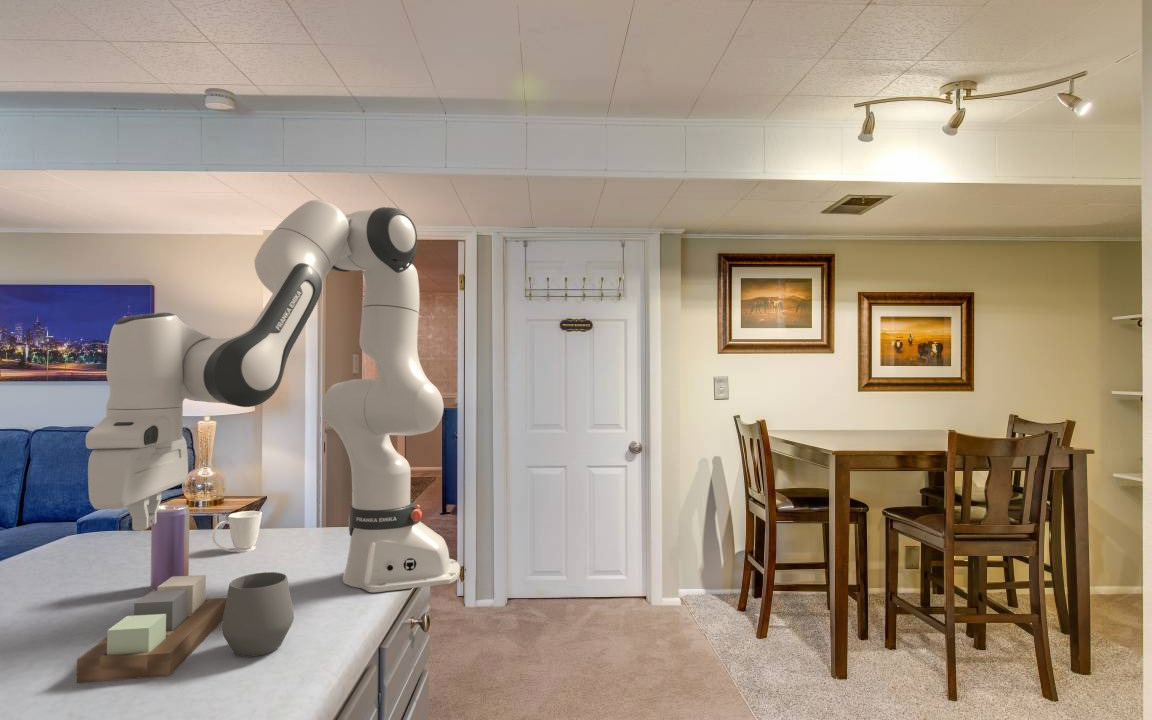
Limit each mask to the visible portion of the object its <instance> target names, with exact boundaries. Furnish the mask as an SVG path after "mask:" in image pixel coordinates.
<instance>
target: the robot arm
mask: <svg viewBox="0 0 1152 720" xmlns="http://www.w3.org/2000/svg"><path fill="white" fill-rule="evenodd" d="M416 228H417V227H416V226H415V223H414V222H413V220H412V218H411V216H409V214H408V213H407V212H405V211H404V210H403V209H399V208H396V207H389V206H388V207H384V206H383V207H381V206H380V207H379V208H375V209H365V210H364V209H363V210H357V211H353V212H352V213H349V214H344V212H343V211H342V210H341V209H340V208H339V207H338V206H336V205H334V204H333V203H331V202H328V201H326V200H322V199H312V200H309V201H307V202H305V203H303V204H301V205H300V206H299V207H297V208H296V209H295V210H293V211H292V212H291V213H290V214H289V215H287V217H285V218H284V220H282V221H281V222H280V223H279V224H278V225H277V226H276V228H275V229H274V230H273V231H271V233H270V234H269V235H268V237H267V238H266V239H265V240H264V241H263V242H262V244H261V246H260V247H259V250H258V251H257V253H256V256H255V257H254V268H255V272H256V275H257V277H258V279H259V280H260V282H261V284H262V285H263V286H264V287H265V288H266V289H267V290H268V291H269V292H271V293H272V294H271V296H270V297H269V299H268V301H267V303H266V304H265V306H264V307H263V309H262V311H261V312H260V314H259V315H258V317H257V318H256V320H255V322H253V323H254V324H253V325H252V326H251V327H250V328H249V329H248V330H246V331H244V332H243V333H241V334H238V335H236V336H232V337H225V338H224V337H223V338H213V337H211V336H210V335H206V334H205V333H201V332H199V331H197V330H195V329H194V328H192V327H190V326H189V325H187V324H186V323H185V322H183V321H182V320H181V319H180V318H179V317H178V316H177V314H174V313H171V312H154V313H144V314H135V315H127V316H123V317H122V318H119V319H118V320H117V321H115V322H114V324H113V326H112V327H111V331H110V335H109V339H108V345H107V347H108V348H107V356H106V357H107V358H106V379H107V382H108V384H109V398H108V400H107V403H106V407H105V408H106V409H105V417H104V418H103V419H102V420H101V421H100V422H99V423H98V424H97V425H96V426H94V427H93V428H91V429H90V430H89V431H88V432H87V433H86V435H85V447H86V449H89V450H92V451H91V453H90V455H89V457H88V464H87V479H88V480H87V482H88V483H87V485H88V486H87V487H88V500H89V502H90V504H91V506H92V507H93V508H94V510H119V509H120V510H121V509H124V508H127V511H128V513H129V515H130V517H131V525H132V526H131V529H132V530H133V531H134V532H137V531H138V532H139V531H142V532H143V531H145V530H148V529H149V528H152V526H153V525H155V524H156V515H157V511H158V508H159V506H161V505H160V504H161V503H162V502H161V501H162V492H165V491H167V490H169V489H171V488H175V487H177V486H179V485H181V484H184V483H186V481H187V479H188V475H189V458H188V446H187V445H188V444H187V440H186V438H185V437H184V435H183V429H184V428H183V427H184V426H183V423H184V422H183V418H184V417H183V416H184V415H183V412H184V411H183V406H184V405H183V404H184V400H186V399H187V400H189V401H195V402H204V403H205V402H206V403H213V404H214V403H215V404H216V403H218V404H226V405H232V406H237V407H242V408H250V407H252V408H253V407H256V406H258V405H261V404H264V403H265V402H266V401H268V400H269V399H271V397H272V396H273V395H274V394H275V393H276V392H277V390H278V389H279V387H280V385H281V382H282V379H283V377H284V374H285V373H284V372H285V368H286V364H287V361H288V358H289V356H290V353H291V351H292V349H293V347H294V345H295V344H296V342H297V340H298V338H299V336H300V335H301V333H302V331H303V330H304V327H305V325H306V324H307V322H308V320H309V318H310V317H311V314H312V313H313V311H314V310H315V307H316V305H317V303H318V302H319V300H320V296H321V293H322V290H323V281H324V280H325V278H326V277H327V275H328V274H329V273H330V271H331V270H333V271H336V272H345V273H346V272H350V271H362V275H363V276H364V277H363V278H364V280H365V289H364V296H363V299H362V300H363V302H362V311H361V320H360V331H359V347H360V349H361V351H362V352H363V353H364V354H365V355H366V356H368V357H369V358H370V359H372V360H373V361H374V363H375V366H376V368H377V377H378V378H377V379H375V378H374V379H373V378H371V379H370V378H365V379H363V378H354V379H349V380H346V381H341V382H338V383H334V384H332V385H331V386H330V387H329V388H328V389H327V391H326V392H325V394H324V396H323V400H322V405H321V408H322V410H321V411H322V415H323V418H324V420H325V422H326V423H327V424H328V426H330V428H331V429H333V430H334V432H336V433H337V436H338V437H339V438H340V439H341V442H342V443H343V446H344V448H345V451H346V453H347V456H348V460H349V463H350V464H349V465H350V471H351V498H352V499H351V506H350V507H349V512H348V531H349V536H350V539H349V548H348V554H347V559H346V564H345V568H344V572H343V576H342V578H341V580H342V582H343V583H344V584H346V585H347V586H349V587H353V588H359V589H363V590H364V591H366V592H368V593H381V592H389V591H399V590H408V589H414V588H423V587H434V586H439V585H449V584H452V583H454V582H455V581H456V580H457V579H459V578H460V575H461V569H460V568H461V566H460V564H459V562H458V561H457V560H455V559H453V558H450V552H449V548H448V545H447V543H446V540H445V539H444V538H443V536H441V535H440V534H438V533H437V532H435V530H432V529H431V528H430V527H428V526H427V525H426V524H424V523H423V522H421V520H422V519H421V518H422V515H423V512H422V510H421V506H420V505H419V504H415V503H413V502H411V482H412V481H411V478H412V477H411V475H412V474H411V473H412V472H411V470H412V469H411V465H410V464H409V461H408V459H406V458H405V457H404V456H403V455H401V454H400V453H399V452H397V450H396V449H395V448H394V446H393V444H392V440H391V438H390V436H403V437H404V436H406V437H410V436H416V435H422V434H426V433H431V432H433V431H434V430H435V429H436V428H437V426H439V423H440V422H441V420H442V417H443V415H444V408H445V407H444V406H445V405H444V400H443V396H442V394H441V392H440V390H439V389H438V388H437V386H436V385H434V384H433V383H432V382H431V380H430V379H428V377H427V375H426V373H425V371H424V370H423V367H422V364H421V362H420V357H419V353H418V338H419V336H418V331H419V316H420V298H421V297H420V284H419V283H420V282H419V275H418V271H417V268H416V267H415V265H414V264H413V263H414V260H415V257H416V253H417V252H416V251H417V247H418V233H417V229H416Z"/></svg>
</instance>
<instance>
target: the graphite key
mask: <svg viewBox="0 0 1152 720" xmlns="http://www.w3.org/2000/svg"><path fill="white" fill-rule="evenodd" d="M133 605H134V607H133V608H134V610H133V611H134V612H133V616H137V615H154V614H166V632H168V631H174V630H175V629H176V628H177V627H178V626H179V625H180V624H181V623H183V622H184V621H185V620H186V619H187V590H168V591H153V590H152V591H149V592H148V593H147V594H145V595H143V596H142V597H141V598H140V599H138V600H137V601H135V602H134V604H133Z"/></svg>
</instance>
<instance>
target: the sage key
mask: <svg viewBox="0 0 1152 720" xmlns="http://www.w3.org/2000/svg"><path fill="white" fill-rule="evenodd" d="M106 632H107V633H106V634H107V636H106V637H107V655H117V654H132V653H147V652H151V651H152V650H153V649H154V648H155V647H156V646H158V645H159V644H160V643H161V642H162V641H163V640H164V639H165V638H166V614H154V615H137V616H134V615H127V616H125V617H124V618H122V619H121V620H120V621H118V622H116V624H114V625H112V626H111V627H110V628H109V629H107V630H106Z"/></svg>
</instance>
